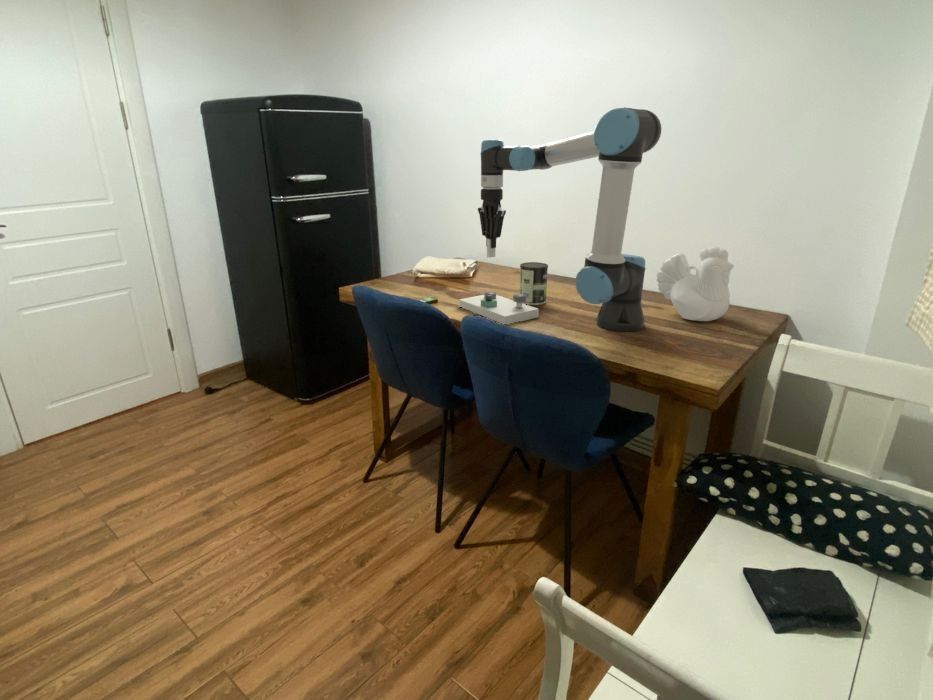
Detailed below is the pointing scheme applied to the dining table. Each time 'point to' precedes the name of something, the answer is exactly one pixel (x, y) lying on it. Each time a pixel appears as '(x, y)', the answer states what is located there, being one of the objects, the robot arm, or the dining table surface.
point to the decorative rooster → (697, 284)
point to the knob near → (519, 300)
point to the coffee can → (533, 282)
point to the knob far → (490, 294)
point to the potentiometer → (488, 302)
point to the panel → (500, 309)
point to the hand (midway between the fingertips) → (491, 256)
